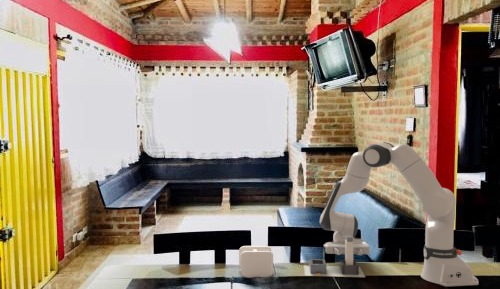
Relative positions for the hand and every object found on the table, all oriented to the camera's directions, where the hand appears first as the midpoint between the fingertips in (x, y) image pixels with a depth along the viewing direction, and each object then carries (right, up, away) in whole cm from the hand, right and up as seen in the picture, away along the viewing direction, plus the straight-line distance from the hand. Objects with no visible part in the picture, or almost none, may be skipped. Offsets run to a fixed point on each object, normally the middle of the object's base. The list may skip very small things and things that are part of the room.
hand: (349, 253), depth 184 cm
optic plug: (0, -8, +1) cm, 9 cm away
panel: (-7, -9, +2) cm, 12 cm away
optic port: (-14, -8, +2) cm, 16 cm away
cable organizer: (-42, -10, +2) cm, 43 cm away
